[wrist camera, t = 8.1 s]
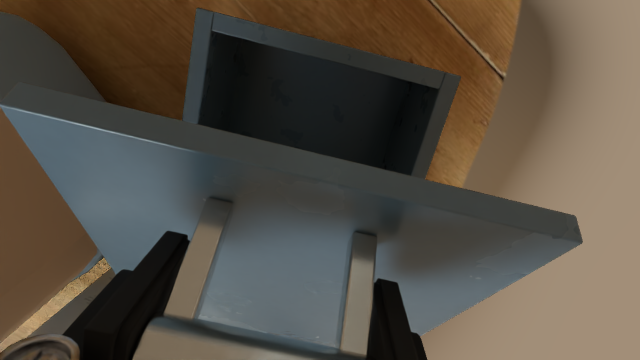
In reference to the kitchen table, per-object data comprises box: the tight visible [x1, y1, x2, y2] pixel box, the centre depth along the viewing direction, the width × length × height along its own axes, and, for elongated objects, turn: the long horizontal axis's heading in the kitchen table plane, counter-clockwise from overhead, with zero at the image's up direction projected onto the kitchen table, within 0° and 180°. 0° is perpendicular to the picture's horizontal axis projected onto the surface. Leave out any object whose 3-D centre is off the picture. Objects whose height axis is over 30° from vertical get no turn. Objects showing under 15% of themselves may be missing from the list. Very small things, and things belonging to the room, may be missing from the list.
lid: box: [0, 82, 583, 360], centre depth 16 cm, size 20×14×6 cm
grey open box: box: [182, 8, 461, 179], centre depth 27 cm, size 19×14×9 cm
